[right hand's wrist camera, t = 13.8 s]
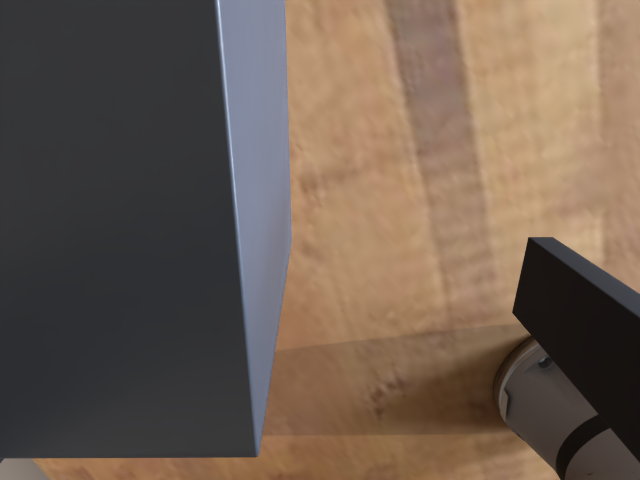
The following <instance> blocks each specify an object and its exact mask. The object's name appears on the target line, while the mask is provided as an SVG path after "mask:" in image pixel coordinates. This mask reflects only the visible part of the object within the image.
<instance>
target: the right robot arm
mask: <svg viewBox="0 0 640 480" xmlns="http://www.w3.org/2000/svg"><path fill="white" fill-rule="evenodd" d="M512 313H513V314H514V315H515V316H516V318H517V319H518V320H519V321H520V322H521V323H522V325H523V326H524V327H525V328H526V329H527V331H528V332H529V333H530V334H531V335H532V336H533V337H531V338H530V339H528V340H527V341H525V342H524V343H522V344H521V345H520V346H519V347H518V348H516V349H515V350H514V351H513V352H512V353H511V354H510V355H509V357H508V358H507V359H506V360H505V362H504V363H503V364H502V366H501V368H500V370H499V372H498V374H497V376H496V380H495V384H494V399H495V403H496V405H497V408H498V409H499V411H500V414H501V416H502V418H503V420H504V422H506V424H507V425H508V426H509V428H510V429H511V430H512V431H513V432H514V433H515V434H516V435H518V436H519V437H520V438H521V439H522V440H524V441H525V442H527V443H528V444H529V446H530V447H531V448H532V449H533V450H534V451H535V452H536V453H537V454H538V455H539V456H540V457H542V458H543V459H544V460H545V461H546V462H547V463H548V464H549V465H550V466H551V467H552V468H553V469H554V470H555V471H556V473H557V474H558V476H559V478H560V479H561V480H640V294H639V293H637V292H636V291H634V290H633V289H631V288H630V287H628V286H627V285H625V284H624V283H622V282H621V281H619V280H618V279H616V278H614V277H613V276H611V275H610V274H608V273H607V272H605V271H604V270H602V269H601V268H599V267H598V266H596V265H594V264H593V263H591V262H590V261H588V260H587V259H585V258H584V257H582V256H581V255H579V254H578V253H576V252H575V251H573V250H571V249H570V248H568V247H567V246H565V245H564V244H562V243H561V242H559V241H558V240H556V239H555V238H553V237H528V242H527V247H526V251H525V256H524V261H523V265H522V270H521V274H520V279H519V284H518V288H517V293H516V298H515V302H514V307H513V311H512ZM3 459H4V458H0V463H1V461H2V460H3Z"/></svg>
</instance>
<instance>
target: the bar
mask: <svg viewBox="0 0 640 480" xmlns="http://www.w3.org/2000/svg"><path fill="white" fill-rule="evenodd" d="M291 242H292V229H291V194H290V160H289V125H288V90H287V55H286V20H285V0H0V458H204V457H258V455H259V451H260V445H261V438H262V432H263V425H264V419H265V412H266V406H267V399H268V393H269V386H270V379H271V373H272V366H273V360H274V353H275V347H276V340H277V334H278V327H279V321H280V314H281V308H282V301H283V295H284V288H285V282H286V275H287V268H288V262H289V255H290V249H291Z"/></svg>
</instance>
